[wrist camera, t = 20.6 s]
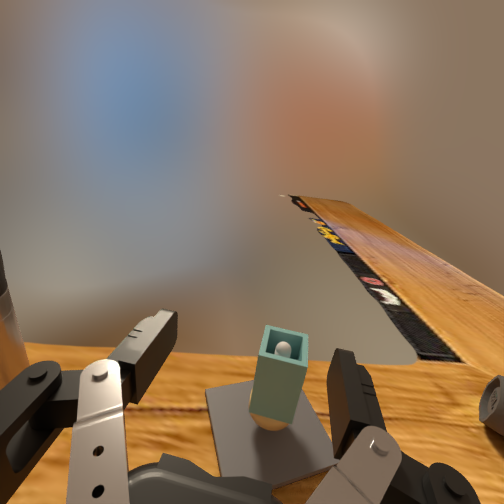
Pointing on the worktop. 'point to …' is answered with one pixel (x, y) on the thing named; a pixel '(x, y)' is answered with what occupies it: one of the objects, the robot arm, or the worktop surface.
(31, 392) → the robot arm
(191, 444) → the worktop surface
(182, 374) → the worktop surface
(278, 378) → the sleeve
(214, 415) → the pipe stand
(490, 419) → the bluetooth speaker
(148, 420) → the worktop surface
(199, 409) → the worktop surface
